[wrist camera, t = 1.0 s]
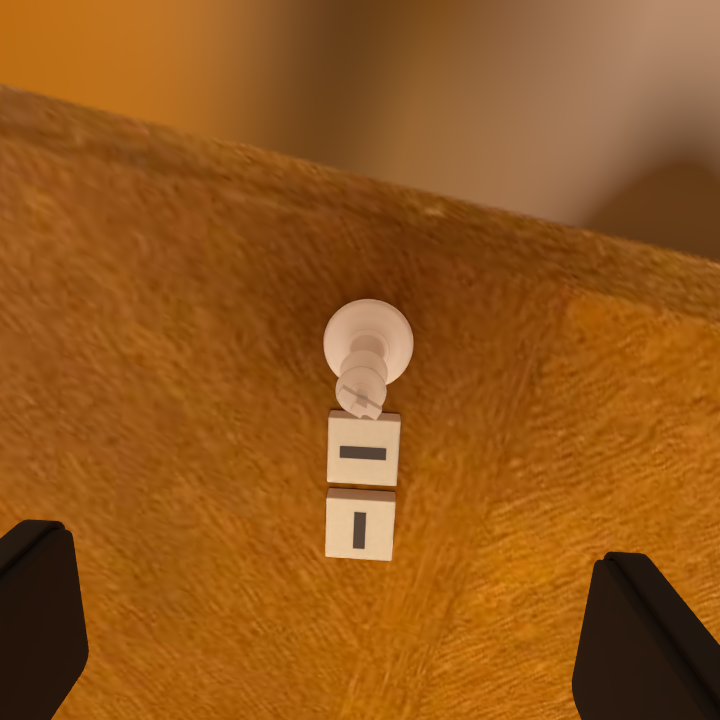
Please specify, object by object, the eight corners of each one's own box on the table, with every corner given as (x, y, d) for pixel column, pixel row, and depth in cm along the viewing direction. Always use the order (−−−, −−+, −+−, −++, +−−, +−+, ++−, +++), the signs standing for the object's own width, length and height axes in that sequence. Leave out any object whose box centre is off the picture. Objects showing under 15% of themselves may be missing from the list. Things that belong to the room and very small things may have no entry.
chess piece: (383, 401, 28) (381, 496, 18) (307, 357, 27) (264, 430, 18) (430, 328, 26) (456, 389, 17) (352, 281, 26) (332, 315, 16)
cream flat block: (330, 409, 28) (327, 418, 27) (400, 413, 28) (400, 422, 27) (327, 544, 30) (324, 558, 29) (391, 548, 30) (391, 562, 29)
